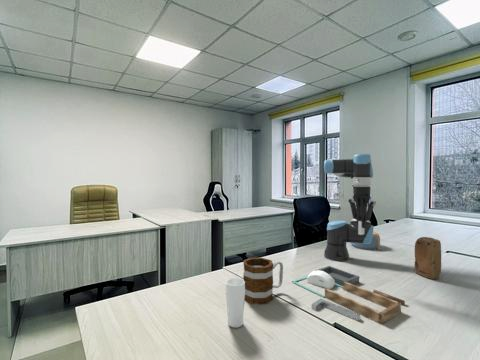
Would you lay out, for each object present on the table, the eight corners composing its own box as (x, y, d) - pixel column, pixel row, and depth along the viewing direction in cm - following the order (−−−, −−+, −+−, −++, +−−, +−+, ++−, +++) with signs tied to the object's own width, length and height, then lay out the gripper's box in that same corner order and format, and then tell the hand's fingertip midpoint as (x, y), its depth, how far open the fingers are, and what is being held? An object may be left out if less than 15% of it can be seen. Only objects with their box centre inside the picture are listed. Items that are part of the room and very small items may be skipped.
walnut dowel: (372, 290, 111) (375, 288, 112) (373, 294, 112) (375, 292, 113) (402, 302, 101) (404, 299, 102) (402, 306, 102) (405, 304, 103)
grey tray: (315, 275, 132) (315, 270, 132) (329, 271, 138) (329, 265, 138) (345, 288, 117) (345, 281, 117) (359, 282, 124) (359, 276, 124)
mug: (251, 307, 100) (251, 270, 99) (237, 293, 112) (237, 259, 112) (291, 297, 108) (291, 262, 108) (274, 285, 120) (274, 254, 120)
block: (442, 279, 128) (443, 240, 128) (432, 281, 125) (433, 241, 125) (421, 271, 138) (421, 235, 138) (411, 273, 136) (412, 236, 135)
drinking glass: (225, 319, 92) (225, 278, 91) (244, 318, 92) (244, 277, 92) (226, 330, 85) (226, 286, 85) (246, 329, 85) (246, 285, 85)
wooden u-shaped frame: (324, 297, 108) (324, 289, 108) (344, 288, 116) (344, 281, 116) (381, 324, 88) (382, 314, 88) (401, 312, 96) (401, 303, 96)
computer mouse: (331, 290, 115) (331, 276, 115) (305, 282, 124) (305, 269, 124) (336, 285, 120) (336, 272, 120) (310, 278, 129) (310, 266, 129)
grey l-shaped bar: (311, 308, 99) (311, 304, 99) (320, 302, 104) (320, 298, 104) (352, 326, 87) (352, 321, 87) (360, 319, 92) (360, 314, 92)
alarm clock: (385, 250, 178) (385, 233, 178) (356, 250, 178) (357, 233, 178) (371, 243, 197) (371, 227, 197) (345, 243, 197) (346, 227, 197)
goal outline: (291, 282, 124) (291, 281, 124) (313, 275, 133) (313, 274, 133) (323, 297, 108) (323, 296, 108) (345, 288, 117) (345, 287, 117)
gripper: (345, 185, 125) (344, 232, 126) (370, 187, 114) (370, 238, 115) (353, 185, 129) (353, 230, 130) (379, 186, 118) (378, 235, 119)
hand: (361, 234), depth 122 cm, fingers closed
